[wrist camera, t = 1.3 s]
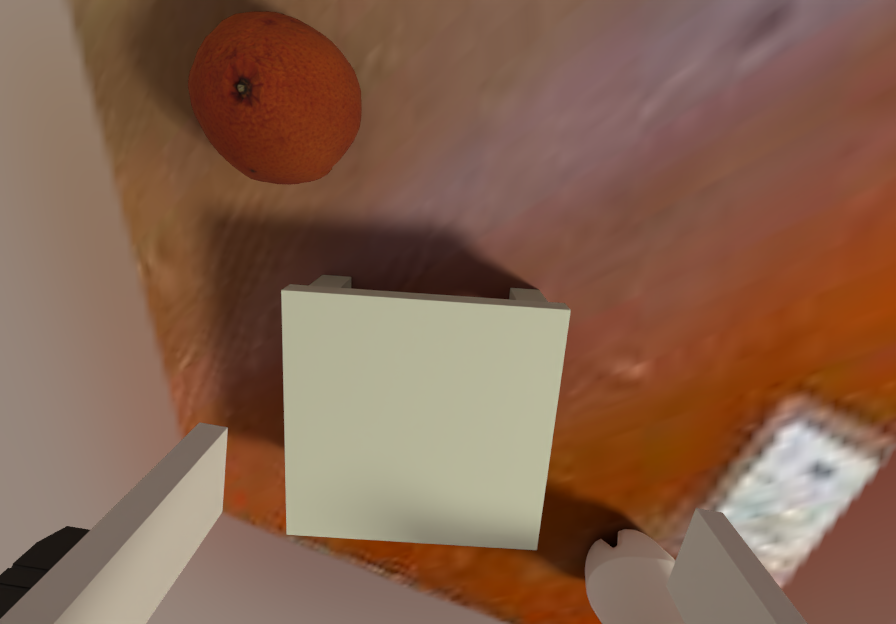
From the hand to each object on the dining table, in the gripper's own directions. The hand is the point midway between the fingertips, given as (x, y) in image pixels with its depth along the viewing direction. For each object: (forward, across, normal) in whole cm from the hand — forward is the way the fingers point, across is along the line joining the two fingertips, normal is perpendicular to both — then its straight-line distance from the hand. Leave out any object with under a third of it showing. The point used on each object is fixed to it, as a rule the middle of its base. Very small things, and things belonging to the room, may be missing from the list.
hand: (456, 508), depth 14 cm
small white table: (+22, -1, -6) cm, 22 cm away
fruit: (+22, -12, +10) cm, 27 cm away
